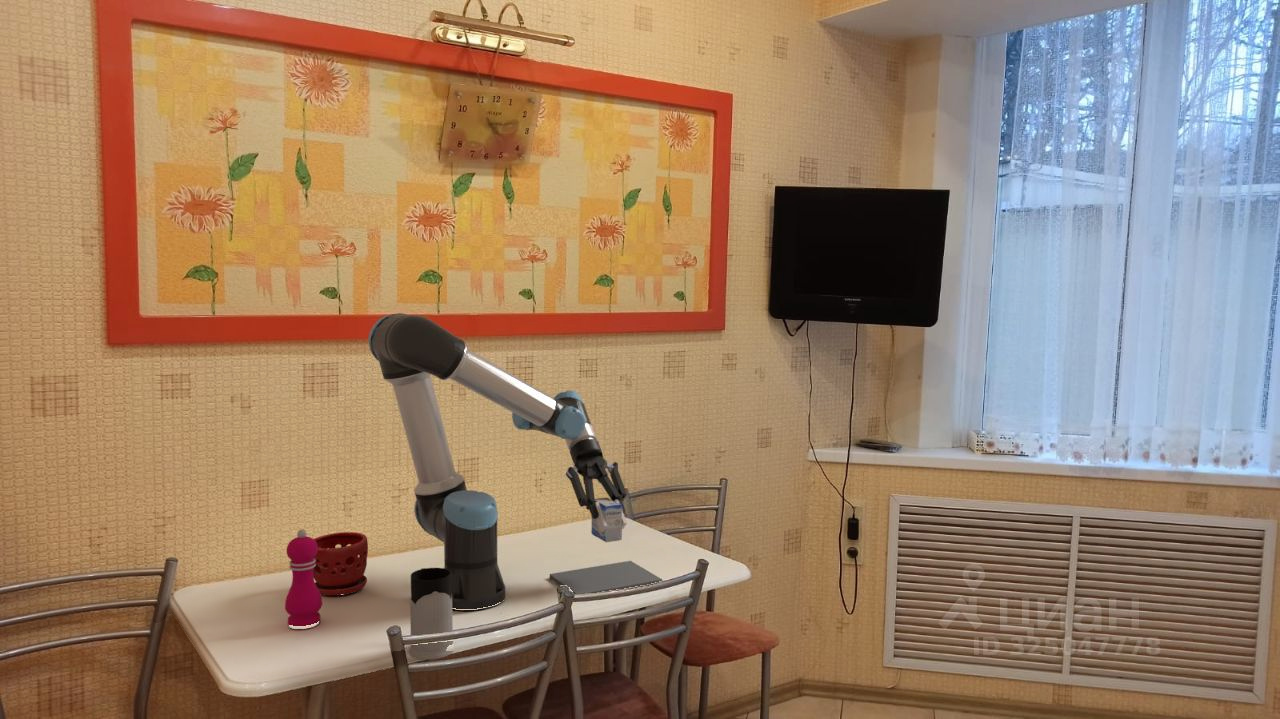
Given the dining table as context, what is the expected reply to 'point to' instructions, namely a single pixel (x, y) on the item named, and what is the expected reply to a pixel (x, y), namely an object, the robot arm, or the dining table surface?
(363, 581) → the plant pot
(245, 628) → the dining table surface
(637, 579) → the rubber mat
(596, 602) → the dining table surface
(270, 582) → the dining table surface
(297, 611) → the pepper mill
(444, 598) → the glass holder
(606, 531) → the medicine box
